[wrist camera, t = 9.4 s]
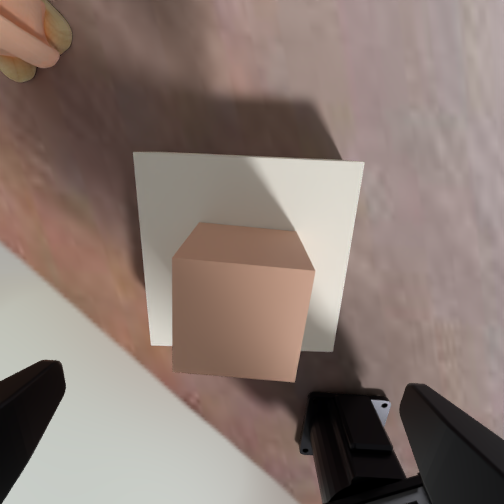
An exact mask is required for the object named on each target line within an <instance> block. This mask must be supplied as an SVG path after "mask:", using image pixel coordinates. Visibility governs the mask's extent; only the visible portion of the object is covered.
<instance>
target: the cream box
mask: <svg viewBox="0 0 504 504" xmlns="http://www.w3.org/2000/svg"><path fill="white" fill-rule="evenodd" d="M133 159H134V170H135V180H136V191H137V201H138V212H139V223H140V233H141V244H142V255H143V265H144V276H145V286H146V297H147V308H148V318H149V329H150V340H151V345H157V346H172V257H173V256H174V254H175V253H176V252H177V251H178V249H179V248H180V247H181V245H182V244H183V243H184V241H185V240H186V239H187V237H188V236H189V235H190V234H191V232H192V231H193V230H194V228H195V227H196V226H197V224H198V223H199V222H202V223H213V224H223V225H234V226H244V227H255V228H265V229H276V230H286V231H296V232H297V234H298V236H299V238H300V240H301V242H302V244H303V246H304V248H305V250H306V252H307V254H308V256H309V258H310V261H311V263H312V265H313V267H314V269H315V276H314V282H313V287H312V293H311V298H310V303H309V309H308V314H307V319H306V325H305V330H304V335H303V341H302V346H301V351H317V352H333V348H334V342H335V336H336V330H337V324H338V318H339V312H340V306H341V300H342V294H343V288H344V282H345V276H346V270H347V264H348V258H349V252H350V246H351V241H352V235H353V229H354V223H355V217H356V211H357V205H358V199H359V193H360V187H361V181H362V175H363V169H364V163H365V162H358V161H349V160H334V159H312V158H289V157H266V156H244V155H221V154H198V153H176V152H133Z"/></svg>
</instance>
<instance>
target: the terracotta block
mask: <svg viewBox="0 0 504 504" xmlns="http://www.w3.org/2000/svg"><path fill="white" fill-rule="evenodd" d="M314 276H315V269H314V267H313V265H312V263H311V261H310V258H309V256H308V254H307V252H306V250H305V248H304V246H303V244H302V242H301V240H300V238H299V236H298V234H297V232H296V231H286V230H276V229H265V228H255V227H244V226H234V225H223V224H213V223H202V222H199V223H198V224H197V226H196V227H195V228H194V230H193V231H192V232H191V234H190V235H189V236H188V237H187V239H186V240H185V241H184V243H183V244H182V245H181V247H180V248H179V249H178V251H177V252H176V253H175V254H174V256H173V257H172V372H178V373H190V374H202V375H213V376H225V377H237V378H249V379H261V380H273V381H285V382H295V378H296V373H297V367H298V362H299V357H300V351H301V346H302V341H303V335H304V330H305V325H306V319H307V314H308V309H309V303H310V298H311V293H312V287H313V282H314Z"/></svg>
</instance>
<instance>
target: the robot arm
mask: <svg viewBox="0 0 504 504" xmlns="http://www.w3.org/2000/svg"><path fill="white" fill-rule="evenodd" d="M65 389H66V383H65V378H64V373H63V367H62V364H61V362H60V361H56V360H41V361H39V362H37V363H35V364H33V365H31V366H29V367H27V368H26V369H23V370H21V371H20V372H17V373H15V374H14V375H12V376H10V377H8V378H6V379H4V380H2V381H0V504H2V502H3V500H4V499H5V498H6V496H7V495H8V493H9V491H10V490H11V488H12V487H13V485H14V484H15V482H16V481H17V479H18V478H19V476H20V474H21V473H22V471H23V470H24V468H25V466H26V465H27V463H28V461H29V460H30V458H31V456H32V454H33V453H34V451H35V449H36V447H37V445H38V443H39V441H40V440H41V438H42V436H43V434H44V432H45V430H46V428H47V426H48V424H49V422H50V421H51V419H52V417H53V415H54V413H55V411H56V409H57V407H58V405H59V403H60V401H61V400H62V398H63V396H64V393H65ZM390 407H391V403H390V402H389V400H388V398H387V397H382V396H367V395H351V394H336V393H320V392H312V393H310V394H309V395H308V399H307V405H306V410H305V415H304V421H303V426H302V432H301V437H300V443H299V450H300V453H301V454H303V455H313V457H314V462H315V467H316V472H317V477H318V483H319V488H320V493H321V498H322V503H323V504H504V440H503V439H502V438H500V437H499V436H497V435H496V434H495V433H493V432H492V431H490V430H489V429H488V428H486V427H485V426H483V425H482V424H481V423H479V422H478V421H476V420H475V419H474V418H472V417H471V416H469V415H468V414H467V413H465V412H464V411H462V410H461V409H460V408H458V407H457V406H455V405H454V404H452V403H451V402H450V401H448V400H447V399H445V398H444V397H443V396H441V395H440V394H438V393H437V392H436V391H434V390H433V389H431V388H430V387H429V386H427V385H425V384H418V383H409V384H408V385H407V386H406V388H405V391H404V394H403V397H402V400H401V403H400V408H399V411H400V416H401V420H402V423H403V425H404V428H405V431H406V434H407V437H408V440H409V443H410V446H411V449H412V452H413V455H414V457H415V460H416V463H417V466H418V469H419V473H417V474H418V475H416V476H413V477H409V478H406V476H405V473H404V471H403V469H402V467H401V465H400V463H399V461H398V458H397V456H396V454H395V452H394V450H393V446H392V443H391V441H390V439H389V437H388V435H387V433H386V431H385V429H384V426H385V423H386V419H387V416H388V413H389V410H390Z"/></svg>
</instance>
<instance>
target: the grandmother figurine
mask: <svg viewBox="0 0 504 504" xmlns="http://www.w3.org/2000/svg"><path fill="white" fill-rule="evenodd" d="M71 41H72V32H71V29H70V26H69V24H68V23H67V21H66V20H65V19H64V18H63V17H62V15H61V14H60V13H59V12H58V11H57V10H56V9H55V8H54V7H53V6H52V5H51V4H50V3H49V1H48V0H0V70H1V71H2V72H3V73H4V74H5V75H6V76H7V77H8V78H9V79H11V80H13V81H16V82H25V81H28V80H30V79H32V78H33V77H34V75H35V73H36V66H37V67H39V68H49V67H52V66H53V65H55V64H56V63H57V61H58V60H59V57H60V54H62V53H63V52H65V51H66V50H67V49H68V48H69V47H70V45H71Z"/></svg>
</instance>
